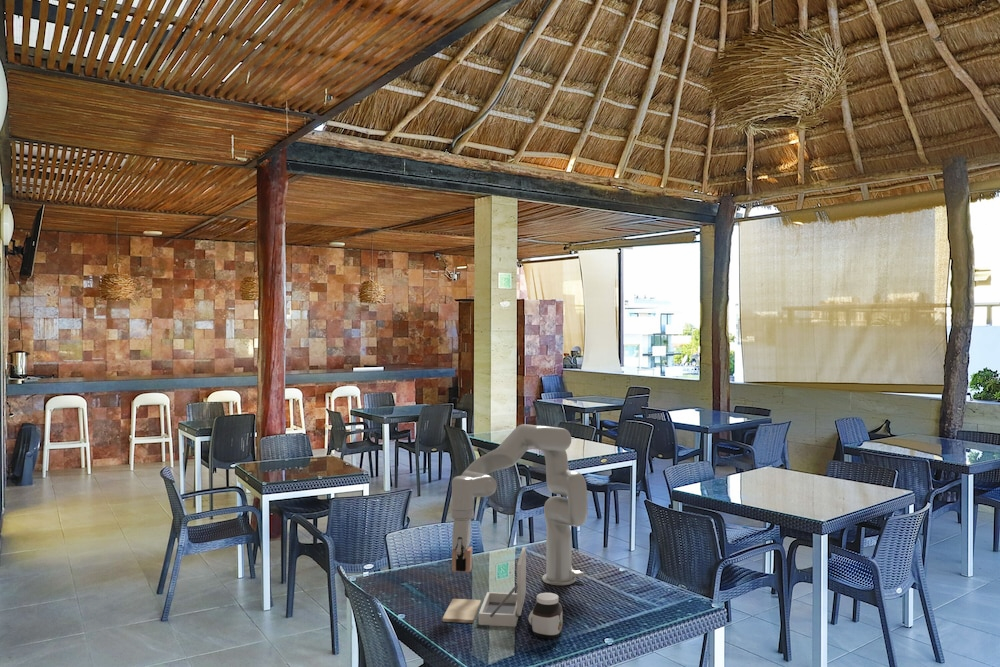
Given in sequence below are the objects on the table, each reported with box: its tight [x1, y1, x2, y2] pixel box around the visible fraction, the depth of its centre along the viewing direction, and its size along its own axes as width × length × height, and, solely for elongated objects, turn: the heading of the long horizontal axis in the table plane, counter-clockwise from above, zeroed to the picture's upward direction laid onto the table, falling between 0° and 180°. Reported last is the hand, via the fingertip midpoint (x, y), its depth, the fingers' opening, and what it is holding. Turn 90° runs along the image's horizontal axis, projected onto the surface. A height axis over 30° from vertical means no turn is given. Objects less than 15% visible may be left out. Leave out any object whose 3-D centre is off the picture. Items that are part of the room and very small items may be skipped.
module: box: [451, 546, 473, 573], centre depth 237 cm, size 6×5×7 cm
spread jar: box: [528, 592, 563, 640], centre depth 220 cm, size 12×11×12 cm
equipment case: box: [478, 546, 527, 627], centre depth 234 cm, size 14×21×20 cm, turn 173°
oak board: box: [441, 598, 482, 624], centre depth 236 cm, size 10×18×1 cm, turn 173°
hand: (462, 567), depth 237 cm, fingers closed on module, 5 cm apart
